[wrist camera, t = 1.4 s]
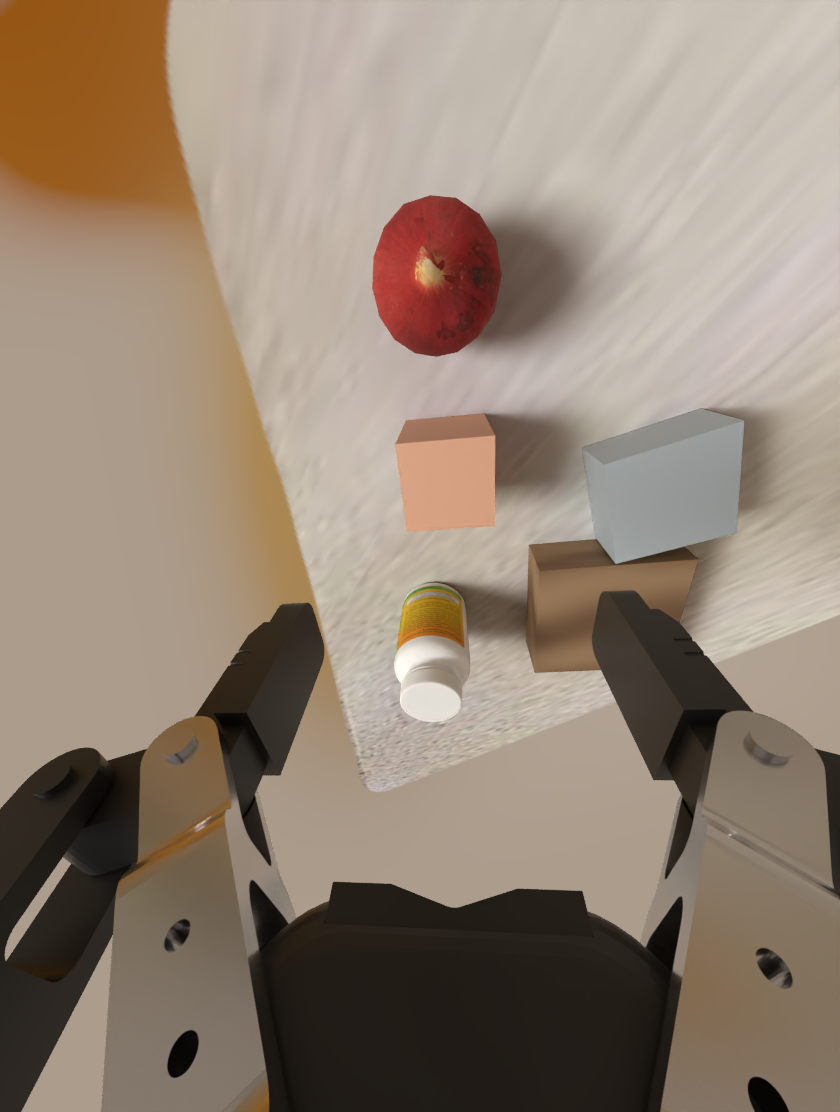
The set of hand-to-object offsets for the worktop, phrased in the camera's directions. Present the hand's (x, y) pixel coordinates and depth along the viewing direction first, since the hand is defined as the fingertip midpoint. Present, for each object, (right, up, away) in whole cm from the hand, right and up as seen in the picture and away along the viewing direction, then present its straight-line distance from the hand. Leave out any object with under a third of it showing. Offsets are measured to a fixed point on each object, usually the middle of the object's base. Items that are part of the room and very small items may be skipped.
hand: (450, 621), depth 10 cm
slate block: (+14, +7, +14) cm, 22 cm away
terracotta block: (+1, +9, +14) cm, 17 cm away
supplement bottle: (0, -2, +21) cm, 21 cm away
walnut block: (+13, -1, +20) cm, 24 cm away
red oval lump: (0, +16, +10) cm, 19 cm away
